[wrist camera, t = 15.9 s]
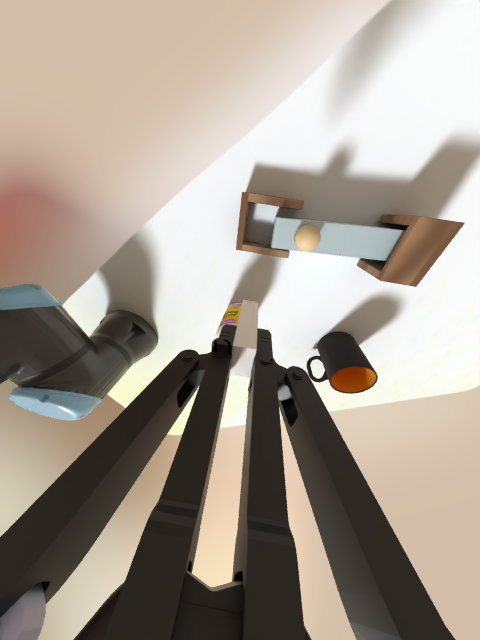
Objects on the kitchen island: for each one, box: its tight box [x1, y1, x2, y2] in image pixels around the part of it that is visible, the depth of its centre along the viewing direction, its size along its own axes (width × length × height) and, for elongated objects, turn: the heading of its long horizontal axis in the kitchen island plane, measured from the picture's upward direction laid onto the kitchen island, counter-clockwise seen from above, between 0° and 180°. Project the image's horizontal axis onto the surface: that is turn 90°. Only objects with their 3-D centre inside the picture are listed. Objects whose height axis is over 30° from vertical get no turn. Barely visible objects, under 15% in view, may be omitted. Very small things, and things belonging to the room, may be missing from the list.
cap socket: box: [357, 214, 464, 287], centre depth 25 cm, size 5×8×8 cm, turn 173°
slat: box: [271, 216, 406, 261], centre depth 26 cm, size 19×4×9 cm, turn 85°
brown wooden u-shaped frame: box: [236, 192, 304, 258], centre depth 28 cm, size 9×8×4 cm
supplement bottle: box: [216, 303, 242, 338], centre depth 35 cm, size 7×7×13 cm
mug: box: [307, 332, 378, 394], centre depth 38 cm, size 8×12×10 cm
